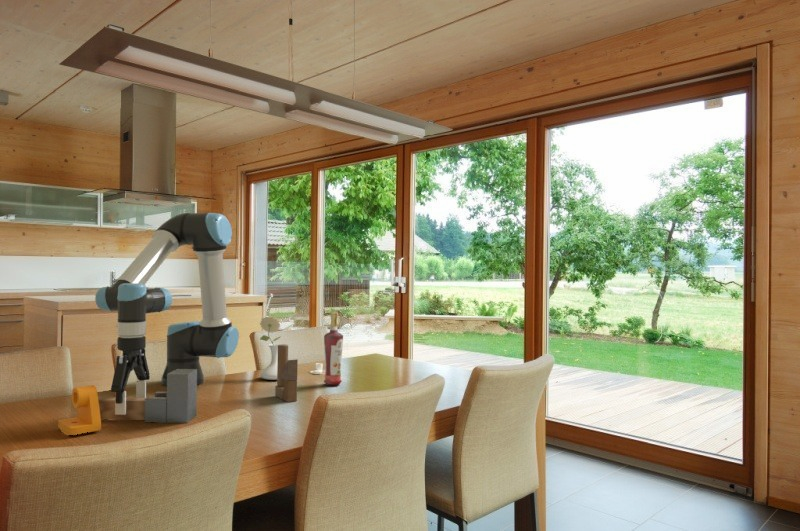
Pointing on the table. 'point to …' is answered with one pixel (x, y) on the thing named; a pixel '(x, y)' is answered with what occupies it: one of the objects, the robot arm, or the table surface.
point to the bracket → (83, 412)
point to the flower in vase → (270, 326)
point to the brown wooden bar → (133, 409)
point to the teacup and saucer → (318, 369)
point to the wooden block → (286, 376)
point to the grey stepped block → (174, 399)
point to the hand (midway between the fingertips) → (131, 407)
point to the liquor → (333, 353)
